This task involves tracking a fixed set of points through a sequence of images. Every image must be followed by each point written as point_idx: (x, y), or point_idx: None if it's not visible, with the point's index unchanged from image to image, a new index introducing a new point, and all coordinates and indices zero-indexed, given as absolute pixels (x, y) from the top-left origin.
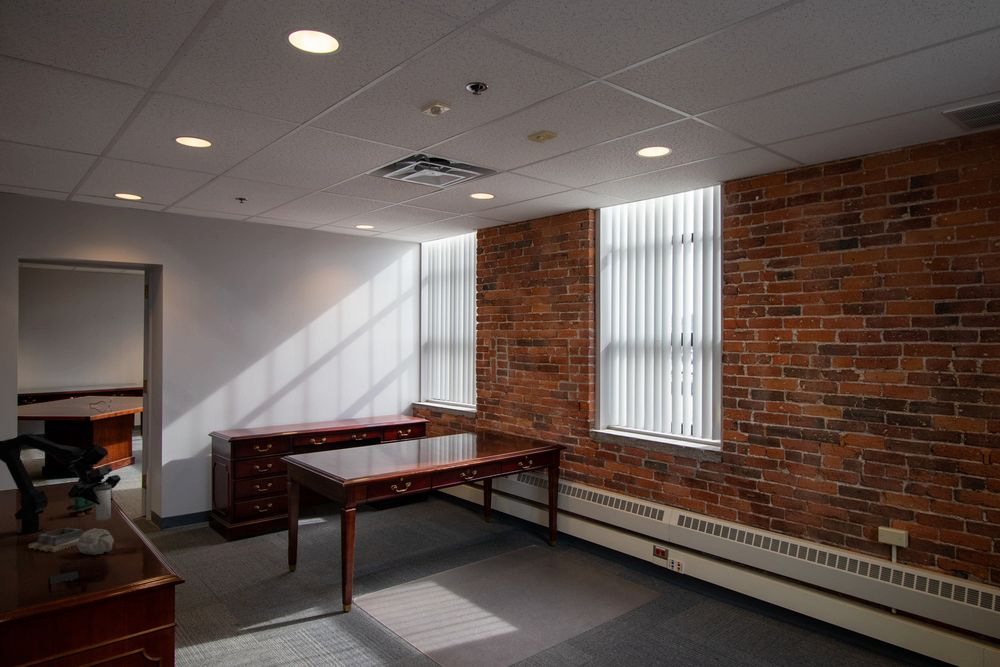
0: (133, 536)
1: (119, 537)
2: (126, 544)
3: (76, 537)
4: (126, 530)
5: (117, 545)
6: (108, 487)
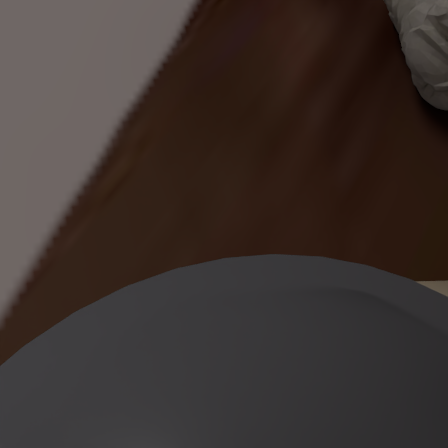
0: (154, 103)
1: (204, 170)
2: (274, 22)
3: None
4: (62, 275)
5: (307, 53)
6: (233, 270)
